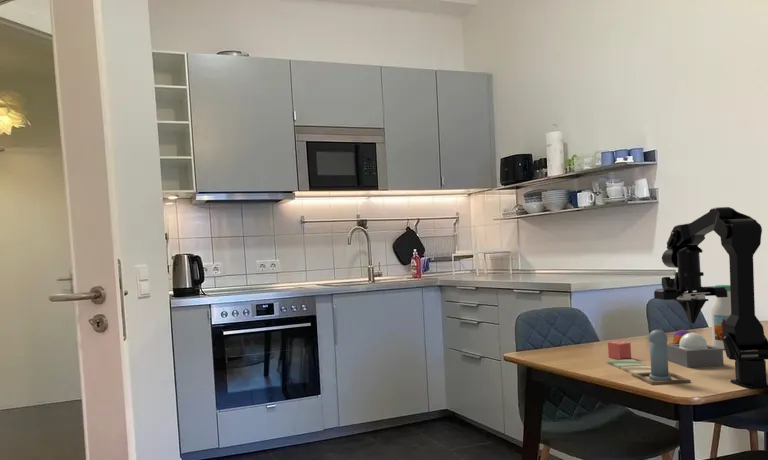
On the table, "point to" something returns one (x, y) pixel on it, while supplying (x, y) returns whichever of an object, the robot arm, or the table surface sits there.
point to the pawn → (658, 356)
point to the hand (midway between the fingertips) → (692, 323)
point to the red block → (619, 350)
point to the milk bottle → (720, 316)
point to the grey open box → (695, 356)
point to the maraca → (678, 336)
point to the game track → (643, 371)
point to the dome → (693, 342)
